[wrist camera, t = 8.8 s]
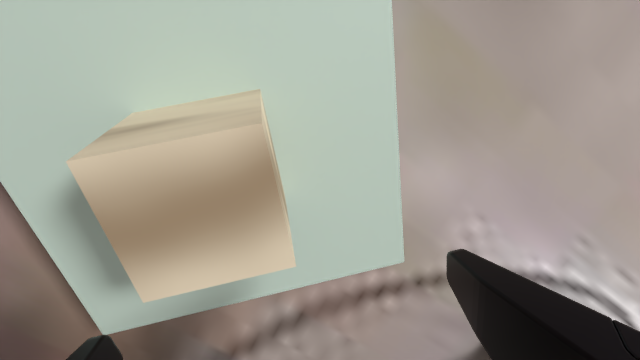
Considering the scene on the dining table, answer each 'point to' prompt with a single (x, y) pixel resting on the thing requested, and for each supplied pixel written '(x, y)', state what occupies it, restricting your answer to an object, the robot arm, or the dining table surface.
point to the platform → (197, 84)
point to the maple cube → (189, 195)
